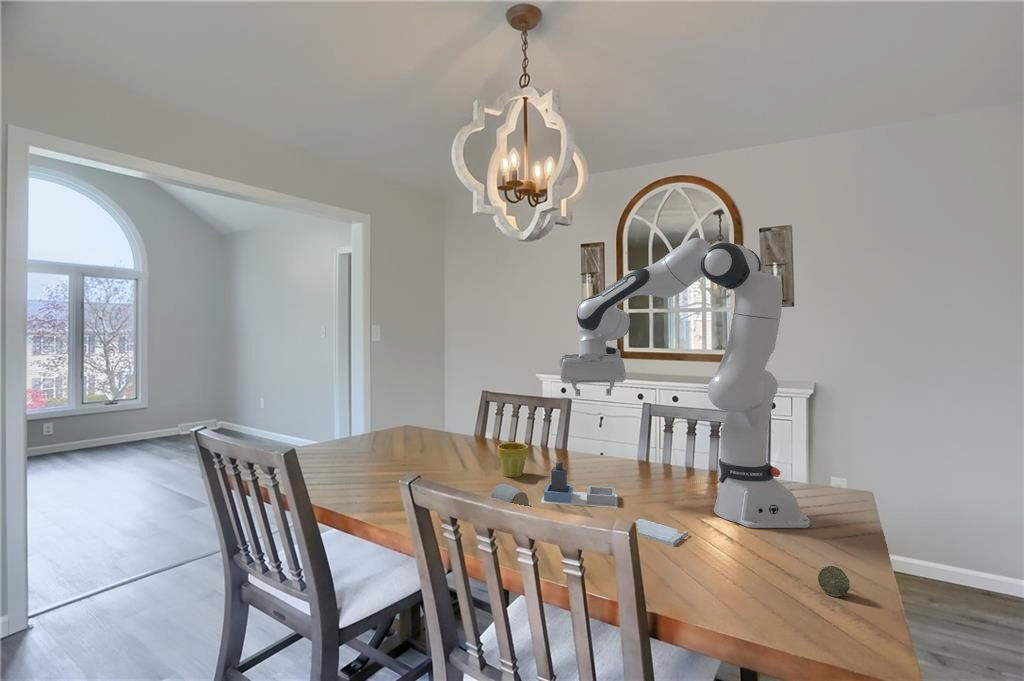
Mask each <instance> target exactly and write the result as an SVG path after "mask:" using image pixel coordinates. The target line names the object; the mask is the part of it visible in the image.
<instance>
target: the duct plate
mask: <svg viewBox="0 0 1024 681" xmlns="http://www.w3.org/2000/svg"><path fill="white" fill-rule="evenodd" d="M615 490H616V487H612V486H611V487H609V486H607V487H606V486H591V485H588V487H587V492H583V491H574V484H567V492H553V491H551V483H547V484H546V486H545V487H544V491H543V496H542V498H541V500H540V504H553V505H554V504H555V505H556V504H557V505H570V506H582V507H585V506H586V507H597V508H599V507H600V508H611V509H612V508H613V509H614V508H615V509H618V494H616V491H615Z"/></svg>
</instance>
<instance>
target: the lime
mask: <svg viewBox="0 0 1024 681" xmlns="http://www.w3.org/2000/svg"><path fill="white" fill-rule="evenodd" d="M817 581H818V584H819V586H820V588H821V590H822V591H823V592H824V593H825V594H827V595H828V596H831V597H842V596H846V595H847V594H848V592H849V590H850V588H851V586H850V585H851V584H850V579H849V577H848V575H847V574H846V572H845V571H844V570H843V569H841V568H839V567H836V566H834V565H827V566H825V567H823V568H821V569H820V571H819V573H818V575H817Z"/></svg>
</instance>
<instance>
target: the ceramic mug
mask: <svg viewBox="0 0 1024 681" xmlns="http://www.w3.org/2000/svg"><path fill="white" fill-rule="evenodd" d="M491 497H492V498H496V499H500V500H503V501H506V502H509V503H514V504H519V505H524V506H531V507H532V505H531V504H529V497H528V495H527V494H526V493H525V492H524V491H523V490H520V489H518V488H515V487H513V486H511V485H509V484H506V483H500V484H497V485H496V486H495V487H494V489H493V490H492V492H491V494H490V498H491Z"/></svg>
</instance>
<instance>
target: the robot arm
mask: <svg viewBox="0 0 1024 681" xmlns="http://www.w3.org/2000/svg"><path fill="white" fill-rule="evenodd" d="M703 277H705V278H706V279H707V280H709V281H710V282H711V283H713V284H715V285H717V286H721V287H723V288H725V289H727V290H731V291H732V290H733V293H734V294H735V302H734V308H733V314H732V319H731V325H730V331H729V337H728V341H727V345H726V348H725V350H724V353H723V356H722V358H721V360H720V363H719V364H718V365H719V366H718V368H717V370H716V371H715V372H716V373H714V376H713V377H712V378H711V380H710V381H709V383H708V386H707V395H708V398H709V400H710V402H711V404H712V405H713V406H714V407H716V408H717V409H719V410H721V411H725V412H727V413H726V418H725V420H724V423H723V426H722V427H721V431H720V458H719V459H718V464H717V477H718V480H719V482H718V483H719V484H718V489H717V490H718V491H717V494H716V495H717V496H716V501H715V504H714V507H713V509H712V510H713V513H714V514H716V515H717V516H718V517H721V518H722V519H724V520H727V521H730V522H734V523H737V524H740V525H742V526H744V527H746V528H751V529H759V528H760V529H808V528H809V527H810V525H811V524H810V523H811V522H810V519H809V517H808V516H807V515H806V513H804V512H803V511H801V510H800V506H799V502H798V500H797V498H796V496H795V494H794V493H793V492H792V491H790V490H789V489H788V488H787V487H786V486H784V485H783V484H782V483H781V482H780V481H778V480H777V479H776V478H778V477H780V476H781V474H782V472H781V471H780V470H779V468H777V467H774V466H773V465H772V464H769V463H768V462H767V441H768V440H767V439H768V429H769V424H770V420H771V419H770V418H771V414H772V409H773V404H774V400H775V396H776V394H777V393H778V385H779V384H778V382H777V379H776V376H774V374H773V373H772V372H770V371H769V370H767V369H766V367H767V364H768V362H769V360H770V358H771V355H772V354H773V353H774V350H775V349H776V343H777V338H778V333H779V327H780V324H781V323H780V322H781V318H782V317H781V316H782V308H783V285H782V281H781V279H779V278H778V277H777V276H776V275H774V274H772V273H767V272H762V263H761V259H760V258H759V256H758V254H756V252H755V251H753V250H751V249H749V248H746V247H745V246H743V245H742V244H738V243H732V242H726V241H725V242H718V243H715V244H713V245H712V244H711V243H710V242H709V241H708V240H706V239H703V238H701V237H693V238H690V239H689V240H687V241H685V242H683V243H682V244H680V245H679V246H677V247H676V248H674V249H673V250H671V251H670V252H668V253H667V254H666V255H665V256H664V257H662V258H661V259H659V260H658V261H656V262H654V263H653V264H650V265H648V266H646V267H643V268H637V269H635V270H632V271H631V272H630V273H628V274H626V275H625V276H623V277H622V278H620V279H619V280H617V281H615V282H614V283H613V284H611V285H609V286H608V287H606V288H604V289H603V290H602V291H600V292H598V293H596V294H594V295H591V296H589V297H587V298H585V299H584V300H582V301H581V302H580V303H579V305H578V307H577V309H576V320H577V335H578V338H579V339H578V343H577V344H578V345H577V346H578V347H577V349H578V350H577V352H578V353H577V354H564V355H563V356H561V357H560V359H559V367H560V381H561V382H562V383H563V384H571V386H572V388H573V390H574V391H575V397H581V389H580V388H578V387H577V385H578V384H582V383H583V384H588V383H591V384H593V383H609V388H605V389H606V390H605V391H606V392H605V395H606V396H612V390H613V388H614V387H615V383H623V382H625V381H626V366H625V362H624V360H623V358H622V356H621V350H620V349H619V348H617V347H613V346H609V345H607V344H606V343H607V341H609V342H611V341H616V340H620V339H622V338H624V337H625V336H626V335H627V334H628V333H629V331H630V328H631V318H630V315H629V314H628V313H627V312H626V311H624V310H622V309H620V308H618V307H617V306H618V305H620V304H621V303H623V302H625V301H626V300H628V299H629V298H632V297H635V296H637V297H638V296H649V297H650V296H652V297H657V298H664V299H665V298H672V297H674V296H678V295H679V294H681V293H682V292H684V291H685V290H687V289H688V288H689V287H690V286H692V285H693V284H694V283H695V282H697V281H699V280H700V279H702V278H703ZM774 477H775V478H774Z"/></svg>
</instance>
